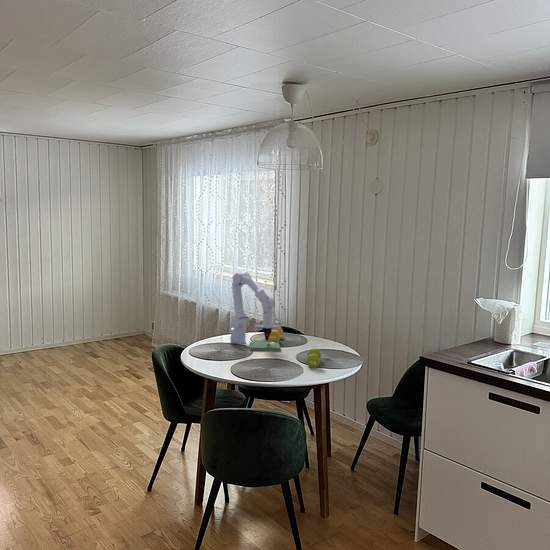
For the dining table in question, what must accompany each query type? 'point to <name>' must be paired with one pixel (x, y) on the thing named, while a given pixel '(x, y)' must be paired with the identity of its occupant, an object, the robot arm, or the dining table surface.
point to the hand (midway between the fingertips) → (266, 340)
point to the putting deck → (264, 346)
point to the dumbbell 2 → (275, 335)
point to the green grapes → (313, 358)
